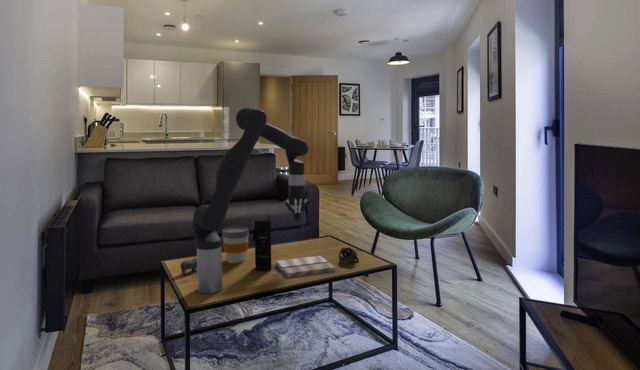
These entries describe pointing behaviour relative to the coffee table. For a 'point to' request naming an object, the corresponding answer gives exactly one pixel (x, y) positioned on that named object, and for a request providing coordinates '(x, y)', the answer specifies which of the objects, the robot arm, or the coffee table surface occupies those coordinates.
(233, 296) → the coffee table surface
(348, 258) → the pottery mug
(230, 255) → the reusable coffee cup
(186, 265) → the rhino figurine
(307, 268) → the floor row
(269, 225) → the portable radio
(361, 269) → the coffee table surface
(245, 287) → the coffee table surface
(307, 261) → the plank
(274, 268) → the underlay mat
